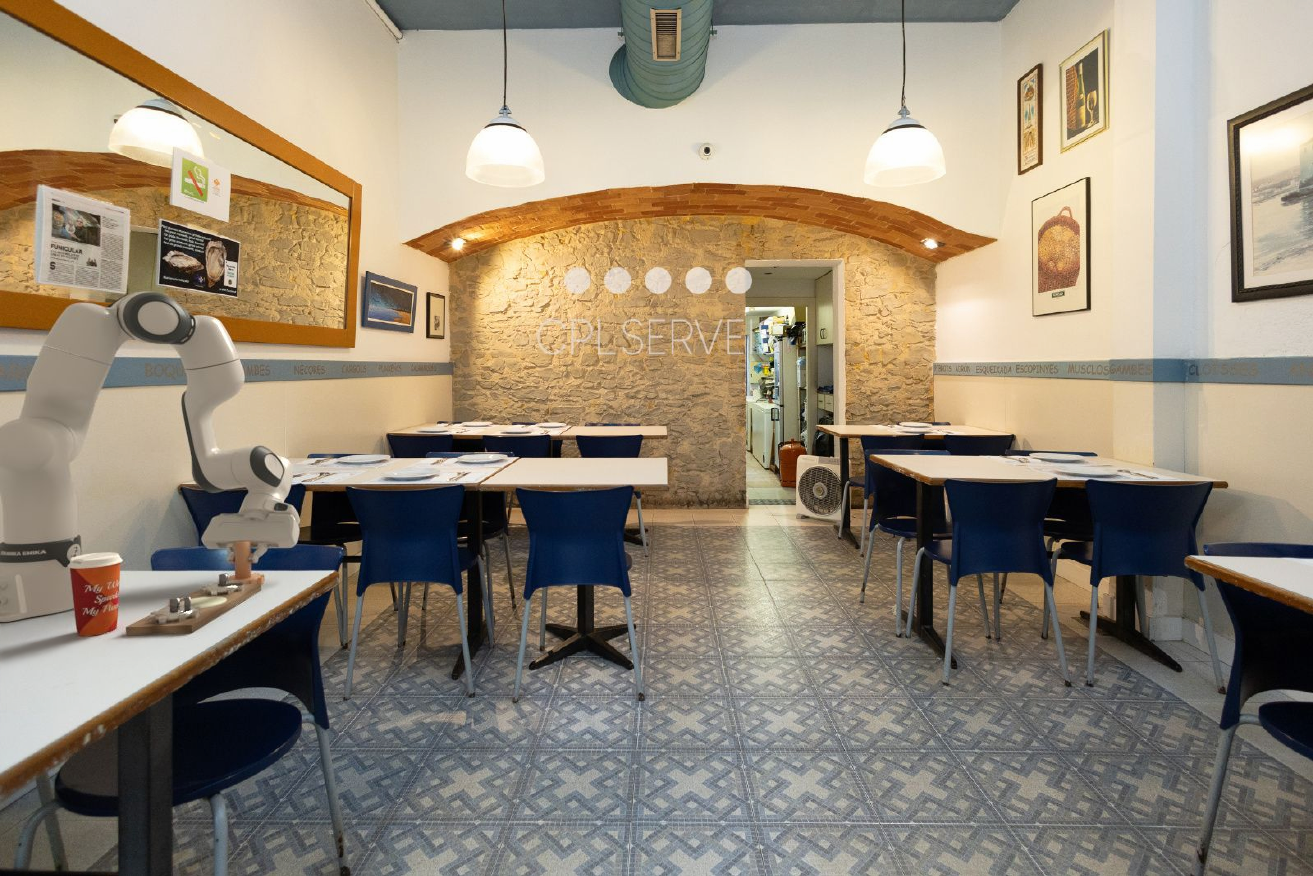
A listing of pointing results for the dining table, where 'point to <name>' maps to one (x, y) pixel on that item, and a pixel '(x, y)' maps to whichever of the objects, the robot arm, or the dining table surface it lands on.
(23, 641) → the dining table surface
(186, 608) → the gear
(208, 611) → the gear board
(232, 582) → the gear
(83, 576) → the paper cup
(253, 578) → the idler gear
